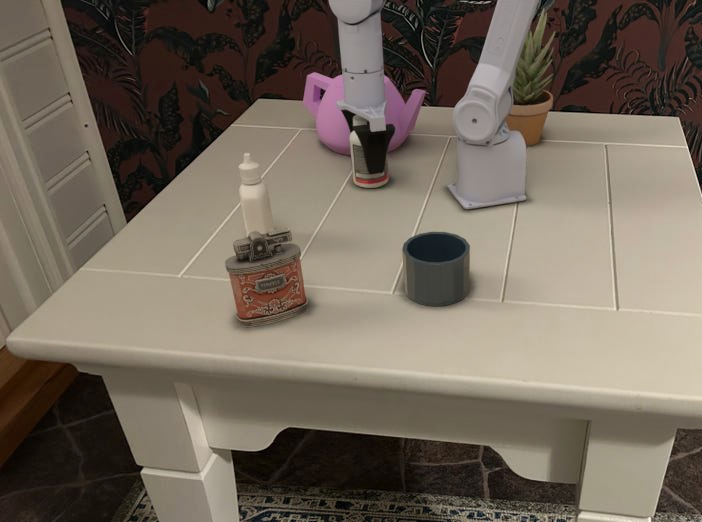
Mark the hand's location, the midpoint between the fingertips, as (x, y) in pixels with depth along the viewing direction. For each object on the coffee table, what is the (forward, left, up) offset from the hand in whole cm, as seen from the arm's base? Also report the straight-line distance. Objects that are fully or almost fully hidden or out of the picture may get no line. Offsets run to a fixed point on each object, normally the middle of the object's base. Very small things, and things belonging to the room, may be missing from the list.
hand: (369, 162), depth 108 cm
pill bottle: (0, 0, -3) cm, 3 cm away
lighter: (+19, +31, -3) cm, 36 cm away
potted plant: (-28, -8, -3) cm, 29 cm away
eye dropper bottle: (+18, +14, -3) cm, 23 cm away
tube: (0, +32, -3) cm, 32 cm away
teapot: (-3, -16, -3) cm, 17 cm away
